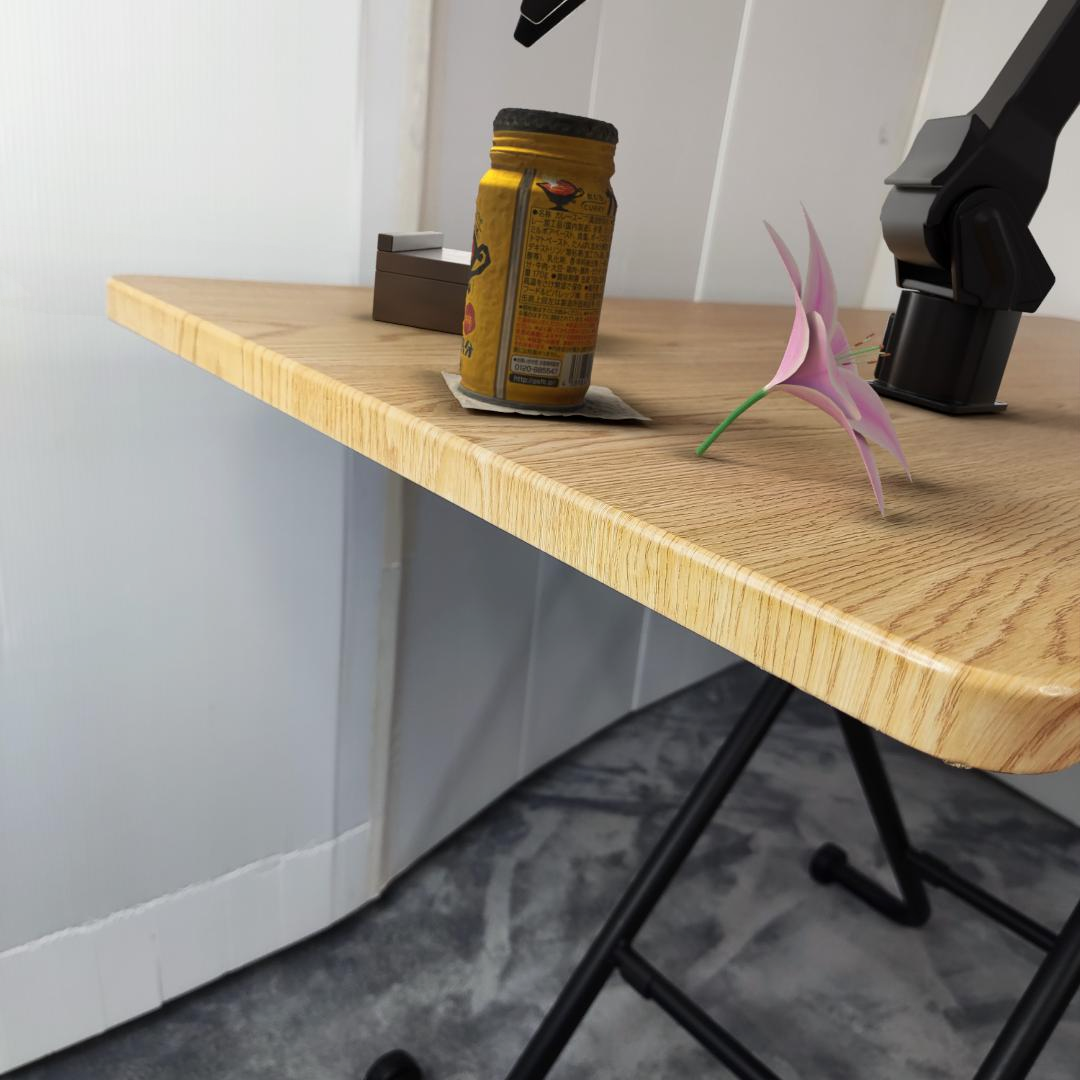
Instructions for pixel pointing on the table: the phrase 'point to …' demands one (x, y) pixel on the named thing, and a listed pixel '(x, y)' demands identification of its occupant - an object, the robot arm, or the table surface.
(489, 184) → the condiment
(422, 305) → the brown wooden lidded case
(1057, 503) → the table surface
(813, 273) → the lily
